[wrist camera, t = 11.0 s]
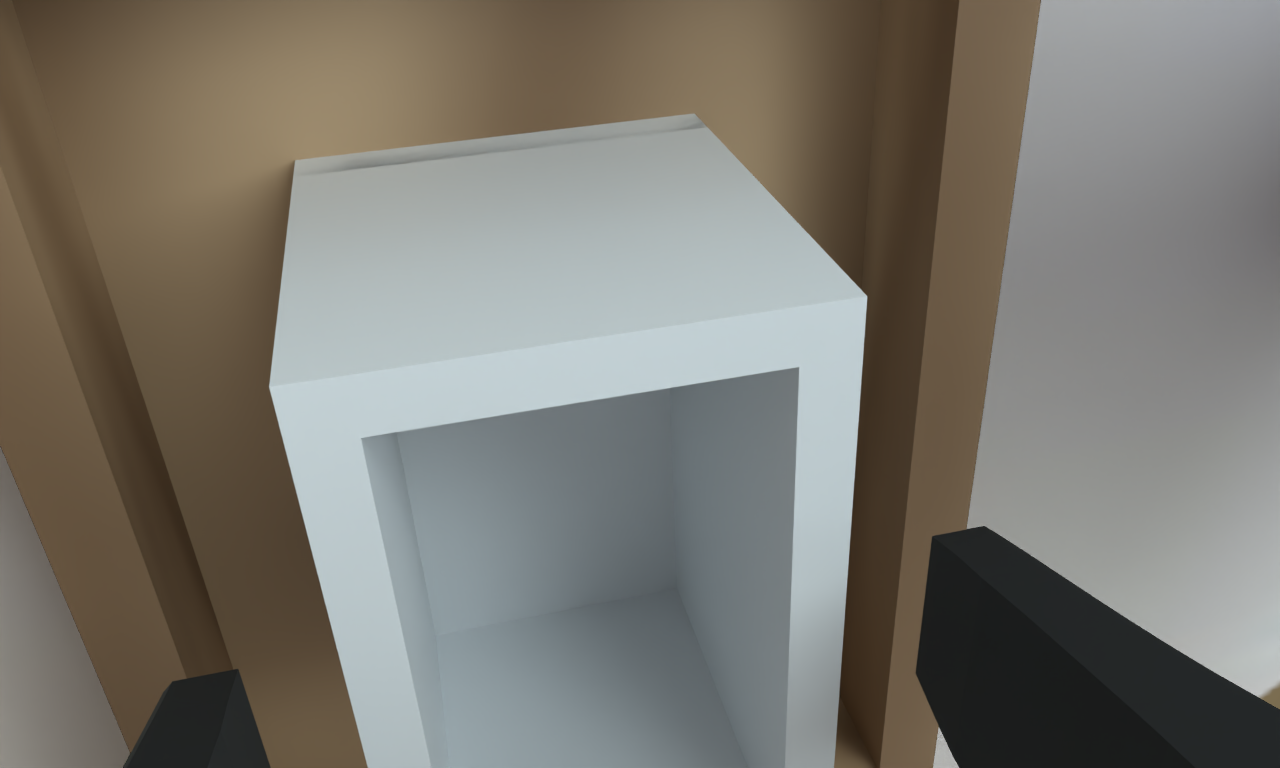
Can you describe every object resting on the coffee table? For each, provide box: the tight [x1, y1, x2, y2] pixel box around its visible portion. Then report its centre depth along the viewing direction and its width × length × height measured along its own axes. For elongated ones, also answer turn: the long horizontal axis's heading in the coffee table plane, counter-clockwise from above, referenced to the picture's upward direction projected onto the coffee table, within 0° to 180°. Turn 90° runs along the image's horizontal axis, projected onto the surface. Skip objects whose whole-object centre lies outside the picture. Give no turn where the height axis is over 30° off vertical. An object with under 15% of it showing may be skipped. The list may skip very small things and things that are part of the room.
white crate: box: [269, 113, 867, 768], centre depth 13 cm, size 5×8×6 cm, turn 3°
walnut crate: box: [0, 0, 1041, 768], centre depth 15 cm, size 12×16×3 cm
